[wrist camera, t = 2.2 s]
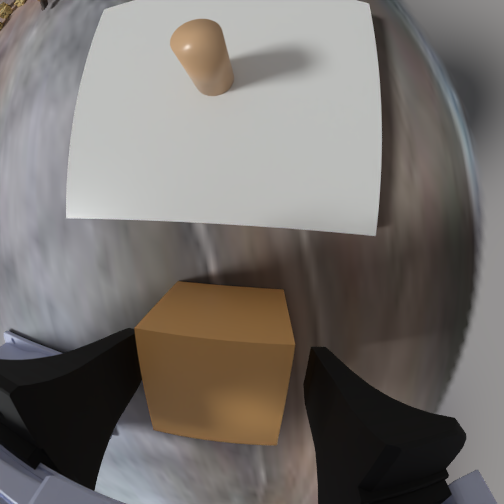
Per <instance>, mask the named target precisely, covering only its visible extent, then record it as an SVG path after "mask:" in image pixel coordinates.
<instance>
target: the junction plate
mask: <svg viewBox="0 0 504 504" xmlns="http://www.w3.org/2000/svg"><path fill="white" fill-rule="evenodd" d="M381 158H382V115H381V93H380V78H379V67H378V58H377V49H376V42H375V35H374V28H373V22H372V17H371V11H370V6H369V4H368V3H364V2H361V1H357V0H135V1H131V2H127V3H124V4H120V5H117V6H114V7H110V8H107V9H104V11H103V14H102V16H101V19H100V22H99V24H98V27H97V30H96V32H95V35H94V38H93V41H92V44H91V47H90V51H89V54H88V57H87V61H86V64H85V68H84V72H83V76H82V80H81V84H80V88H79V93H78V97H77V102H76V108H75V113H74V119H73V126H72V133H71V140H70V149H69V159H68V173H67V195H66V218H84V219H123V220H151V221H174V222H195V223H214V224H231V225H247V226H262V227H276V228H289V229H302V230H314V231H326V232H338V233H349V234H359V235H370V236H376V229H377V220H378V209H379V197H380V182H381Z"/></svg>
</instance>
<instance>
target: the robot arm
mask: <svg viewBox="0 0 504 504" xmlns="http://www.w3.org/2000/svg"><path fill="white" fill-rule="evenodd" d="M4 338H5V341H6V343H5V344H3V345H2V346H1V347H0V504H126V503H123V502H120V501H117V500H115V499H112V498H110V497H107V496H105V495H102V494H100V493H97V492H95V491H94V490H95V485H96V481H97V476H98V473H99V469H100V466H101V462H102V459H103V456H104V453H105V450H106V448H107V445H108V442H109V440H110V439H111V437H112V432H113V430H114V428H115V426H116V424H117V422H118V420H119V418H120V416H121V415H122V413H123V412H124V410H125V408H126V407H127V405H128V403H129V402H130V400H131V398H132V397H133V395H134V393H135V392H136V390H137V388H138V387H139V385H140V383H141V380H142V375H141V370H140V364H139V358H138V352H137V345H136V338H135V330H134V329H131V328H128V329H125V330H122V331H119V332H117V333H115V334H112V335H110V336H108V337H105V338H103V339H101V340H98V341H96V342H94V343H91V344H89V345H86V346H83V347H81V348H78V349H75V350H72V351H69V352H66V353H61V352H58V351H56V350H53V349H50V348H48V347H45V346H42V345H40V344H37V343H35V342H32V341H30V340H28V339H25V338H23V337H21V336H18V335H16V334H14V333H12V332H9V331H5V332H4ZM303 385H304V398H305V406H306V410H307V415H308V419H309V424H310V428H311V432H312V437H313V441H314V446H315V452H316V463H317V478H318V504H497V502H496V501H495V499H494V497H493V495H492V493H491V491H490V490H489V488H488V486H487V484H486V483H485V481H484V479H483V477H482V476H481V474H480V472H479V471H478V470H475V471H473V472H471V473H469V474H467V475H465V476H463V477H461V478H459V479H457V480H455V481H453V482H452V483H451V484H449V485H447V483H446V481H445V479H447V478H448V476H449V474H448V472H447V470H446V468H447V467H448V466H449V464H450V463H451V462H452V461H453V460H454V458H455V457H456V456H457V454H458V453H459V452H460V450H461V449H462V448H463V446H464V443H465V441H466V433H465V432H464V430H463V429H462V427H461V426H460V424H459V423H458V422H457V420H456V419H455V418H452V417H447V416H442V415H437V414H433V413H429V412H426V411H422V410H419V409H416V408H414V407H411V406H408V405H406V404H404V403H401V402H399V401H397V400H395V399H393V398H391V397H389V396H387V395H385V394H384V393H382V392H380V391H379V390H377V389H375V388H374V387H372V386H371V385H369V384H368V383H367V382H365V381H364V380H363V379H361V378H360V377H359V376H357V375H356V374H355V373H354V372H353V371H351V370H350V369H349V368H348V367H347V366H346V365H345V364H343V363H342V362H341V361H340V360H339V359H338V358H337V357H336V356H335V355H334V354H333V353H332V352H331V351H329V350H328V349H327V348H326V347H311V350H310V355H309V360H308V365H307V370H306V375H305V380H304V384H303Z"/></svg>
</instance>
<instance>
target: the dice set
mask: <svg viewBox="0 0 504 504" xmlns="http://www.w3.org/2000/svg"><path fill="white" fill-rule="evenodd" d="M25 2H26V0H16V2H15V3H14V5H15V6H16V5H17V4H18V5H17V6H18V7H20V6H22V5H23V4H24V3H25ZM12 12H13V11H12V9H11V6H10V5H8V4H6V3H4V2H3V3H2V4H0V17H1V18H3V19H4V18H5V19H7V18H8V17H9V15H10V14H11V13H12ZM3 25H4V24H3V23H1V22H0V30H1V29H2V27H3Z"/></svg>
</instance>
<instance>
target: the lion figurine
mask: <svg viewBox="0 0 504 504" xmlns="http://www.w3.org/2000/svg"><path fill="white" fill-rule="evenodd" d="M38 1H39V2H40V4H41V6H42V10H44V9H45V8H46V6H47V5H48V1H47V0H38Z"/></svg>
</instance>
